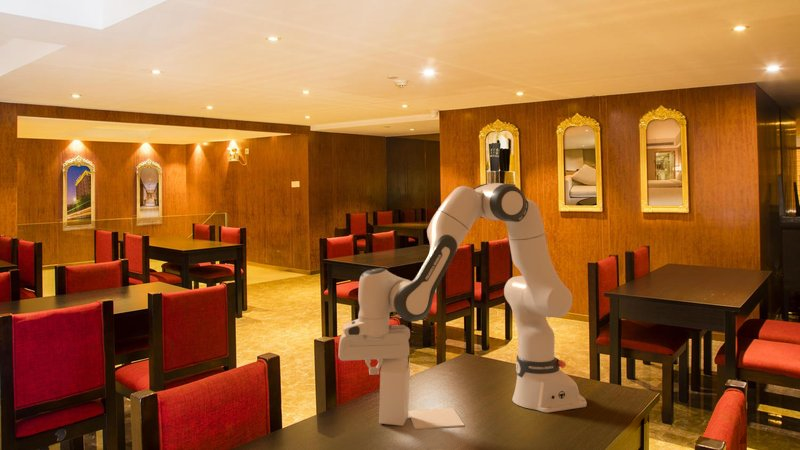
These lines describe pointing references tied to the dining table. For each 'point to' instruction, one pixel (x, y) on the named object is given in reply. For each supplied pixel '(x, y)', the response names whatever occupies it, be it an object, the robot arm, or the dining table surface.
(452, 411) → the mat
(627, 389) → the dining table surface
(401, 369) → the milk carton
